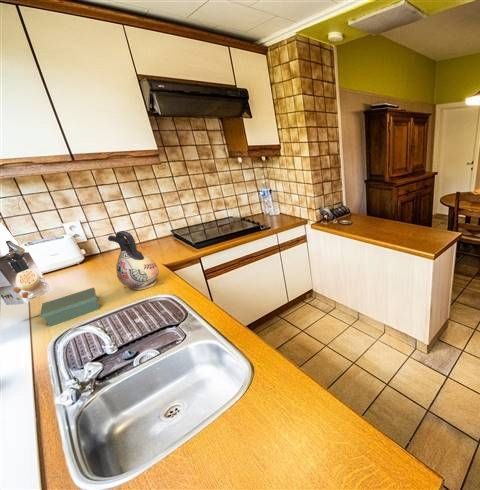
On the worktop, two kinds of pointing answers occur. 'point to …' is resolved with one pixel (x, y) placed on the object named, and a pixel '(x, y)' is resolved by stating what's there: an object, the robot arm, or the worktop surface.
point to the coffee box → (21, 282)
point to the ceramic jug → (133, 263)
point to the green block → (69, 306)
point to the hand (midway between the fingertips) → (12, 270)
